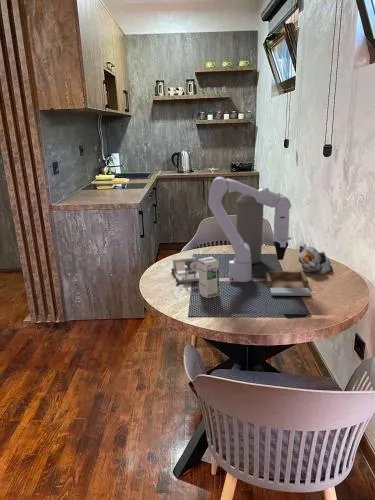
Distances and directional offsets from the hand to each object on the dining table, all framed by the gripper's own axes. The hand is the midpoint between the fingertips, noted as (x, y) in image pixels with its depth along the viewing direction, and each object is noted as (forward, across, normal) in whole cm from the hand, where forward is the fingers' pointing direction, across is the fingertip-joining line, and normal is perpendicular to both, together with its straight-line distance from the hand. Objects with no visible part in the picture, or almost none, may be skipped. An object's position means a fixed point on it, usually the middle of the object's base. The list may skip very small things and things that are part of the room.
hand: (280, 259), depth 154 cm
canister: (+10, +26, +11) cm, 30 cm away
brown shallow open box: (+9, -6, -2) cm, 11 cm away
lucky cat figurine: (+10, +11, -16) cm, 22 cm away
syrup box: (+10, -15, +28) cm, 33 cm away
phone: (+10, -25, 0) cm, 27 cm away
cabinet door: (+8, -12, -2) cm, 15 cm away
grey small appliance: (+10, +3, +38) cm, 40 cm away
